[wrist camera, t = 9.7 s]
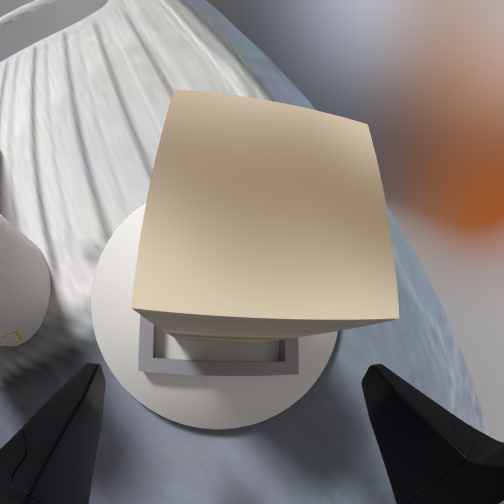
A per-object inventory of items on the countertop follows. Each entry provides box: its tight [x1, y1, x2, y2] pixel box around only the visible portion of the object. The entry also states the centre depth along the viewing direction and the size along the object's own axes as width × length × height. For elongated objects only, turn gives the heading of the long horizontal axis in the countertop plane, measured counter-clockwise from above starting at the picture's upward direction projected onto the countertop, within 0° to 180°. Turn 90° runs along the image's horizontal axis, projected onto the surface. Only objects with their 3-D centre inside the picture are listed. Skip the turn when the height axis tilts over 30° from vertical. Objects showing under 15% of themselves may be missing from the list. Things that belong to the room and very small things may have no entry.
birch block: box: [131, 90, 399, 343], centre depth 12 cm, size 5×5×13 cm
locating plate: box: [91, 203, 338, 429], centre depth 17 cm, size 16×16×4 cm
